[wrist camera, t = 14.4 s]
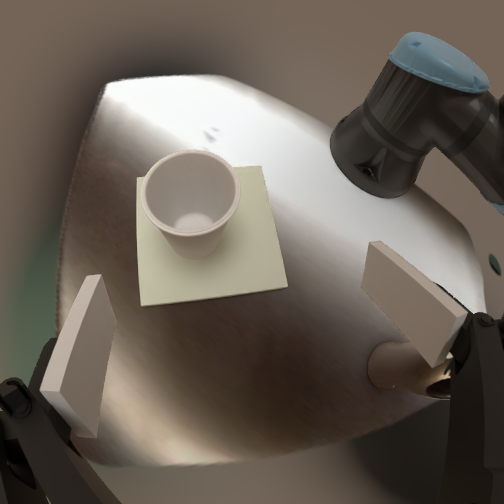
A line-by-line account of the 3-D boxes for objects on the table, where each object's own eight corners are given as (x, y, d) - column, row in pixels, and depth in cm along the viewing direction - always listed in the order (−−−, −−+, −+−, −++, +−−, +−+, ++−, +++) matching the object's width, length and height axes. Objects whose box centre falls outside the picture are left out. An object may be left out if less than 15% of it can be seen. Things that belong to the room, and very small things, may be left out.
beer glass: (357, 350, 31) (447, 339, 17) (400, 330, 33) (489, 308, 19) (371, 401, 29) (461, 416, 15) (412, 378, 31) (502, 375, 17)
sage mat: (260, 169, 37) (261, 165, 37) (286, 288, 32) (288, 286, 32) (138, 181, 34) (137, 177, 33) (142, 306, 29) (141, 305, 29)
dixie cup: (227, 275, 31) (236, 240, 22) (152, 266, 30) (129, 229, 21) (234, 206, 34) (245, 153, 25) (165, 199, 33) (153, 145, 24)
